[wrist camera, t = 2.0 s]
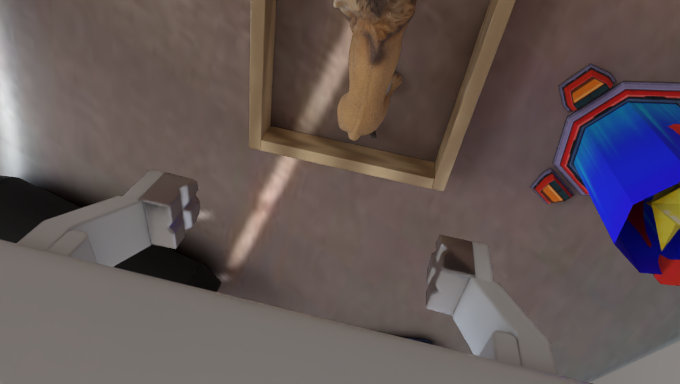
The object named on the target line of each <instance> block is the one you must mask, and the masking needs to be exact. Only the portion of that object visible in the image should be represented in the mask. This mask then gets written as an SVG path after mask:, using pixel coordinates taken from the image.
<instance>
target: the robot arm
mask: <svg viewBox="0 0 680 384" xmlns="http://www.w3.org/2000/svg"><path fill="white" fill-rule="evenodd" d="M197 191H198V184H197V181H196V180H194V179H190V178H186V177H182V176H178V175H174V174H170V173H165V172H161V171H157V170H150V171H148V172H147V173H146V174H145V175H144V176H143V177H142V178H141V179H140V180H139V181H138V182H137V183H136V184H135V185H134V186H133V187H132V188H131V189H130V190H129V191H128V192H127V193H125V194H124V195H123V196H116V197H113V198H110V199H107V200H104V201H101V202H98V203H95V204H92V205H89V206H86V207H83V208H80V209H77V210H74V211H71V212H68V213H65V214H62V215H59V216H56V217H53V218H50V219H47V220H44V221H42V222H41V223H40V224H39V225H38V226H37V227H35V228H34V229H33V230H32V231H31V232H29V233H28V234H27V235H26V236H25V237H23V238H22V239H21V240H20V241H19V242H17V243H12V242H8V241H4V240H0V384H592V383H588V382H583V381H579V380H575V379H571V378H567V377H563V376H559V375H558V373H557V369H556V365H555V361H554V357H553V353H552V349H551V345H550V342H549V340H548V339H547V338H546V337H545V336H544V335H543V334H542V332H541V331H540V330H539V329H538V328H537V327H536V326H535V324H534V323H533V322H532V321H531V320H530V319H529V317H528V316H527V315H526V314H525V313H524V312H523V311H522V309H521V308H520V307H519V306H518V305H517V304H516V303H515V301H514V300H513V299H512V298H511V297H510V296H509V295H508V293H507V292H506V291H505V290H504V289H503V288H502V287H501V285H500V284H499V283H496V282H494V279H493V273H492V266H491V259H490V253H489V246H488V245H487V244H484V243H479V242H474V241H468V240H463V239H459V238H454V237H449V236H445V235H439V237H438V239H437V241H436V251H435V252H433V253H432V254H431V257H430V260H429V264H428V269H427V283H428V284H429V286H428V288H427V291H426V309H430V310H433V311H437V312H441V313H445V314H449V315H452V317H453V319H454V321H455V323H456V324H457V326H458V328H459V330H460V331H461V333H462V335H463V337H464V338H465V340H466V342H467V344H468V345H469V347H470V349H471V351H472V352H473V354H474V355H473V354H468V353H464V352H460V351H456V350H452V349H448V348H444V347H440V346H436V345H431V344H427V343H423V342H419V341H415V340H411V339H407V338H402V337H398V336H394V335H390V334H386V333H382V332H377V331H373V330H369V329H365V328H361V327H357V326H353V325H349V324H345V323H341V322H337V321H333V320H329V319H325V318H320V317H316V316H312V315H308V314H304V313H300V312H296V311H292V310H288V309H284V308H279V307H275V306H271V305H267V304H263V303H259V302H255V301H251V300H246V299H242V298H238V297H234V296H230V295H226V294H222V293H218V292H213V291H209V290H205V289H201V288H197V287H193V286H189V285H185V284H181V283H176V282H172V281H168V280H164V279H160V278H156V277H152V276H148V275H144V274H139V273H135V272H131V271H127V270H123V269H119V268H115V267H113V266H115V265H117V264H119V263H120V262H122V261H124V260H126V259H128V258H129V257H131V256H133V255H135V254H136V253H138V252H140V251H142V250H144V249H145V248H147V247H149V246H151V244H154V245H158V246H163V247H168V248H173V249H176V248H177V247H178V245H179V244H180V243H181V241H182V240H183V239H184V237H185V236H186V234H185V230H186V229H188V228H190V227H192V226H193V225H194V223H195V222H196V220H197V217H198V215H199V210H200V201H199V199H198V198H197V197H196V195H195V194H196V192H197Z"/></svg>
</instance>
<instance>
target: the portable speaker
mask: <svg viewBox="0 0 680 384" xmlns="http://www.w3.org/2000/svg"><path fill="white" fill-rule="evenodd" d="M80 208H81V207H79V206H77V205H75V204H73V203H71V202H68V201H66V200H64V199H62V198H60V197H58V196H56V195H54V194H51V193H49V192H47V191H45V190H43V189H41V188H39V187H36V186H34V185H32V184H30V183H28V182H26V181H24V180H22V179H20V178H16V177H8V176H0V240H4V241H8V242H12V243H17V242H19V241H20V240H21V239H22V238H23V237H25V236H26V235H27V234H28V233H29V232H31V231H32V230H33V229H34V228H35V227H37V226H38V225H39V224H40V223H41V222H42V221H44V220H47V219H50V218H53V217H56V216H59V215H62V214H65V213H68V212H71V211H74V210H77V209H80ZM113 267H115V268H119V269H123V270H127V271H131V272H135V273H139V274H144V275H148V276H152V277H156V278H160V279H164V280H168V281H172V282H176V283H181V284H185V285H189V286H193V287H197V288H201V289H205V290H209V291H213V292H217V291H218V289H219V287H220V285H221V281H220V280H219V279H218V278H217V277H216V276H215V275H214V274H213V273H212V272H211V271H210V270H209V269H208V268H207V267H206V266H205V265H203V264H201V263H199V262H197V261H194V260H192V259H190V258H188V257H186V256H184V255H182V254H179V253H177V252H175V251H173V250H171V249H169V248H167V247H163V246H158V245H154V244H151V246H149V247H147V248H145V249H144V250H142V251H140V252H138V253H136V254H135V255H133V256H131V257H129V258H128V259H126V260H124V261H122V262H120V263H119V264H117V265H115V266H113Z"/></svg>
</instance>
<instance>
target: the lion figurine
mask: <svg viewBox="0 0 680 384" xmlns="http://www.w3.org/2000/svg"><path fill="white" fill-rule="evenodd" d="M415 6H416V0H334V8H340V11H341V12H342V13H344V14H345V16H346V19H347V20H348V21H349V22H350V27H351V30H352V32H353V36H352V40H351V45H350V51H349V82H350V86H349V92H348V93H346V94H344V95H343V96H342V97H341V99H340V102H339V105H338V109H337V116H338V123H339V127H340V128H341V129H342V130H344V131H347V132H348V136H349V138H350V139H351V140H353V141H355V140H357V139H358V138H359V137H360V136H361V135H367V134H369V135H370V136H371V137H372V138H376V131H375V130H376V129H377V128H378V127H379V125H380V124H381V123H382V121H383V119H384V118H385V116H386V113H387V110H388V107H389V103H390V97H391V95H392V93H393V92H394V91H395V90H396V89H397V88H398V87H399V85H400V84H401V82H402V77H401V75H400V74H398V73H394V70H395V68H396V66H397V63H398V59H399V56H400V51H401V45H402V33H403V32H404V30H405V28H406V26H407V24H408V22H409V21H410V19H411V18H412V17H413V15H414V13H415Z"/></svg>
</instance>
